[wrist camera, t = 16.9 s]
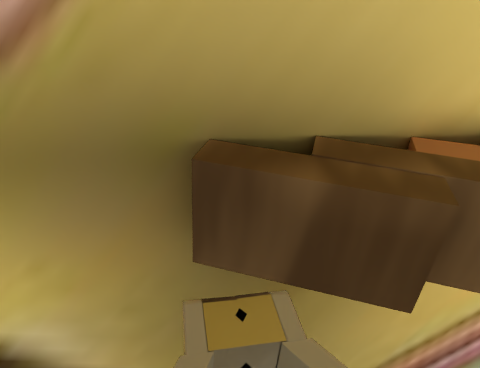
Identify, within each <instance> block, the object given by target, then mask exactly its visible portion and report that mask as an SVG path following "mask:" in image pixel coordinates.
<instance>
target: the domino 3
mask: <svg viewBox="0 0 480 368" xmlns="http://www.w3.org/2000/svg"><path fill="white" fill-rule="evenodd" d="M408 150H411V151H417V152H424V153H430V154H437V155H443V156H450V157H456V158H463V159H469V160H476V161H480V145H472V144H464V143H457V142H449V141H441V140H434V139H426V138H418V137H411V140H410V143H409V146H408Z"/></svg>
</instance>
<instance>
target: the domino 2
mask: <svg viewBox="0 0 480 368" xmlns="http://www.w3.org/2000/svg"><path fill="white" fill-rule="evenodd" d="M312 156H316V157H323V158H329V159H335V160H341V161H347V162H353V163H359V164H366V165H372V166H378V167H384V168H390V169H396V170H402V171H409V172H415V173H421V174H427V175H433V176H439V177H444V178H445V179H446V181H447V183H448V185H449V187H450V189H451V191H452V193H453V195H454V196H455V198H456V200H457V202H458V204H459V209H458V211H457V213H456V215H455V218H454V220H453V222H452V224H451V226H450V229H449V231H448V233H447V235H446V237H445V240H444V242H443V244H442V246H441V248H440V251H439V253H438V255H437V257H436V259H435V262H434V264H433V266H432V268H431V271H430V273H429V275H428V277H427V279H426V281H427V282H432V283H436V284H441V285H445V286H450V287H454V288H459V289H463V290H468V291H472V292H477V293H480V161H476V160H469V159H463V158H456V157H450V156H443V155H437V154H430V153H424V152H417V151H411V150H404V149H398V148H391V147H385V146H378V145H372V144H365V143H359V142H352V141H346V140H339V139H333V138H326V137H320V136H316V138H315V143H314V148H313V152H312Z"/></svg>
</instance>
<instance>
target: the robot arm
mask: <svg viewBox="0 0 480 368" xmlns="http://www.w3.org/2000/svg"><path fill="white" fill-rule="evenodd" d="M183 333H184V355H182V356H180V357H179V359H178V361H177V362H176V364H175V366H174V368H347V367H346V366H345V365H344V364H343V363H341V362H340V361H339V360H338V359H336V358H335V357H334V356H333V355H332V354H330V353H329V352H328V351H327V350H325V349H324V348H323V347H322V346H321V345H319V344H318V343H317V342H316V341H314V340H313V339H312V338H311V339H307V338H306V336H305V333H304V331H303V328H302V326H301V323H300V321H299V318H298V316H297V313H296V311H295V308H294V306H293V303H292V301H291V298H290V296H289V293H288V292H287V291H286V290H285V291H275V292H269V293H268V292H264V293H255V294H247V295H238V296H234V297H221V298H208V299H197V300H186V301H183Z"/></svg>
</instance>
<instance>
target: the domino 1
mask: <svg viewBox="0 0 480 368" xmlns="http://www.w3.org/2000/svg"><path fill="white" fill-rule="evenodd" d="M458 209H459V204H458V202H457V200H456V198H455V196H454V195H453V193H452V191H451V189H450V187H449V185H448V183H447V181H446V179H445V178H444V177H439V176H433V175H427V174H421V173H415V172H409V171H402V170H396V169H390V168H384V167H378V166H372V165H366V164H359V163H353V162H347V161H341V160H335V159H329V158H323V157H316V156H310V155H304V154H298V153H292V152H286V151H279V150H273V149H267V148H261V147H255V146H249V145H243V144H236V143H230V142H224V141H218V140H212V139H210V140H209V141H208V142H207V143H206V144H205V145H204V146H203V147H202V148H201V150H200V151H199V152H198V153H197V154H196V155H195V156H194V157H193V158H192V220H193V262H195V263H200V264H204V265H208V266H212V267H216V268H221V269H225V270H229V271H233V272H238V273H242V274H246V275H250V276H255V277H259V278H263V279H267V280H271V281H276V282H280V283H284V284H288V285H293V286H297V287H301V288H305V289H309V290H314V291H318V292H322V293H326V294H331V295H335V296H339V297H343V298H348V299H352V300H356V301H360V302H364V303H369V304H373V305H377V306H381V307H386V308H390V309H394V310H398V311H403V312H407V313H411V312H412V310H413V308H414V306H415V304H416V301H417V299H418V297H419V295H420V293H421V290H422V288H423V286H424V284H425V282H426V279H427V277H428V275H429V273H430V271H431V268H432V266H433V264H434V262H435V259H436V257H437V255H438V253H439V251H440V248H441V246H442V244H443V242H444V240H445V237H446V235H447V233H448V231H449V229H450V226H451V224H452V222H453V220H454V218H455V215H456V213H457V211H458Z"/></svg>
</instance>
